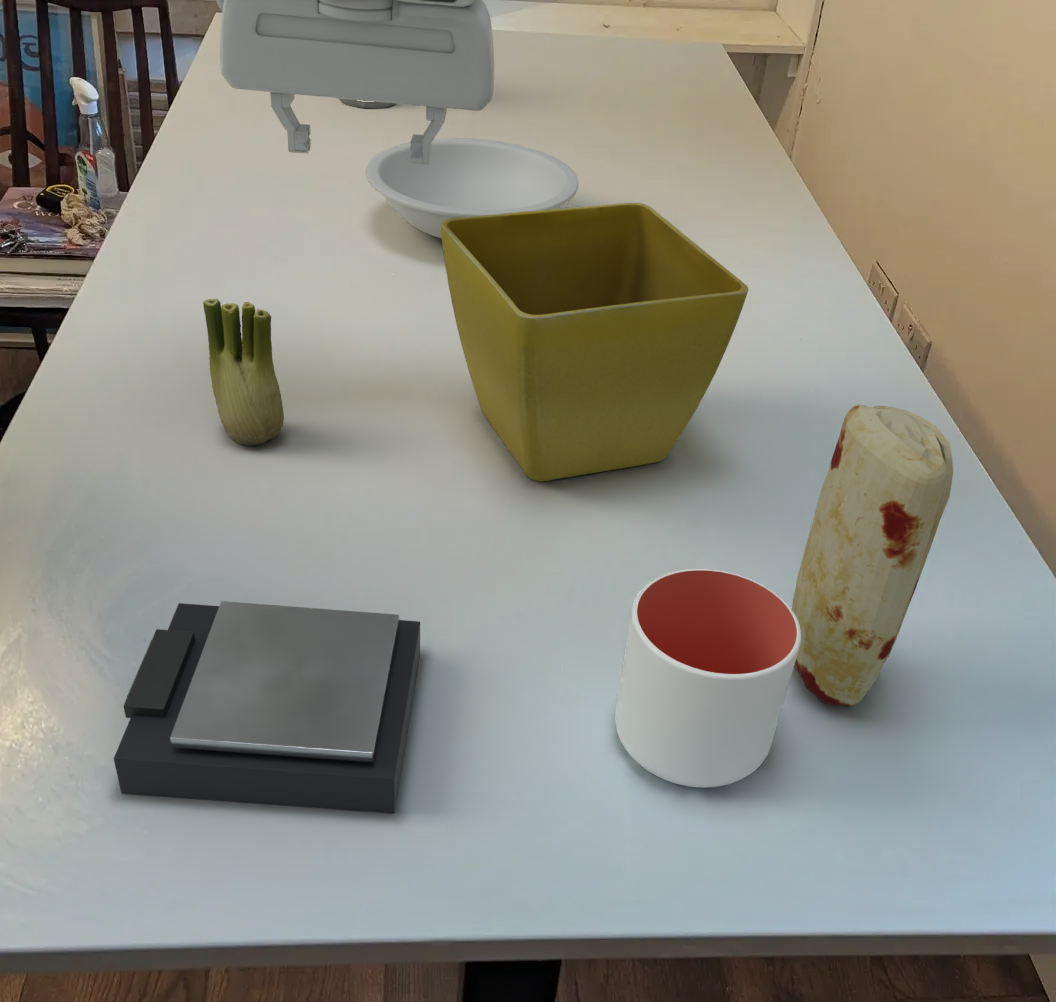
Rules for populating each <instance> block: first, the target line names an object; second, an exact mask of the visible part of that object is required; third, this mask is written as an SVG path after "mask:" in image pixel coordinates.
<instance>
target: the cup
mask: <svg viewBox="0 0 1056 1002" xmlns="http://www.w3.org/2000/svg"><path fill="white" fill-rule="evenodd" d="M630 612H631V613H630V618H629V626H628V629H627V630H628V631H627V635H626V636H627V637H626V644H625V648H624V649H625V650H624V655H623V662H622V666H621V667H622V668H621V674H620V678H619V679H620V681H619V686H618V692H617V698H616V705H615V710H614V711H615V712H614V722H615V727H616V728H615V729H616V733H617V735H618V738H619V740H620V742H621V745H622V746H623V748H624V749H625V751H626V752H627V753H628V754H629V756H630V757H631V758H632V759H633V760H634V761H635V762H636V763H637V764H638V765H639V766H640V767H642V768H643V769H645V770H646V771H648V772H649V773H651V774H652V775H654V776H656V777H658V778H660V779H662V780H664V781H667V782H670V783H673V784H676V785H680V786H686V787H692V788H716V787H722V786H728V785H731V784H734V783H737V782H739V781H741V780H743V779H745V778H747V777H748V776H750V775H751V774H752V773H754V772H755V771H756V770H757V769H758V768H759V767H760V766H761V765H762V764H763V762H764V761H765V759H766V758H767V756H768V754H769V753H770V750H771V748H772V744H773V741H774V737H775V733H776V731H777V728H778V727H777V726H778V723H779V720H780V716H781V713H782V709H783V706H784V702H785V700H786V695H787V692H788V689H789V684H790V681H791V678H792V675H793V671H794V667H795V661H796V658H797V654H798V651H799V647H800V644H801V629H800V625H799V621H798V619H797V617H796V615H795V613H794V612H793V610H792V607H791V606H790V605H789V604H788V603H787V602H786V600H785V599H783V598H782V597H781V596H780V595H779V594H778V593H776V592H775V591H774V590H772V589H771V588H770V587H767V586H766V585H764V584H762V583H760V582H758V581H757V580H754V579H752V578H750V577H747V576H745V575H741V574H738V573H735V572H731V571H726V570H722V569H721V570H720V569H712V568H689V569H688V568H687V569H680V570H674V571H671V572H667V573H665V574H662V575H660V576H658V577H656V578H654V579H652V580H651V581H649V582H648V583H647V584H646V585H644V586H643V587H642V588H641V589H640V591H639V592H638V593H637V595H636V596H635V598H634V600H633V603H632V606H631V611H630Z"/></svg>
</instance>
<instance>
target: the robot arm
mask: <svg viewBox="0 0 1056 1002" xmlns="http://www.w3.org/2000/svg"><path fill="white" fill-rule="evenodd" d="M215 2H216V5H217V6H218V8H219V9H220V11H221V20H220V21H221V22H220V37H219V65H220V73H221V76H222V77H223V78H224V80H225V81H226V83H227V84H228V85H229V86H230V87H231V88H232V89H235V90H245V91H253V92H254V91H255V92H266V93H269V94H270V107H271V109H272V110H273V112H274V114H275V116H276V117H277V118H278V121H280V123H281V125H282V126H283V128H284V130H285V131H286V132H287V133H286V135H287V150H288V152H289V153H293V154H306V155H308V154H309V151H311V147H312V139H311V138H310V136H311V125H310V124H304V123H300V121H299V119H298V118H297V115H296V113H295V112H294V110H293V108H292V106H291V104H292V103H293V101H294V100H295V95H299V96H309V97H319V98H320V97H321V98H331V99H333V98H334V99H340V98H341V99H352V100H363V101H374V102H385V103H396V105H406V106H407V105H408V106H419V107H425V119H426V121H429V122H430V123H429V124H428V125H427V127H426V129H425V131H424V132H423V134H416V133H415V134H414V133H413V134H412V136H411V139H410V142H411V152H412V153H411V156H410V162H411V163H414V164H425V165H429V164H430V160H431V142H432V141H433V139H436V136H437V135H438V133H439V132H440V130H441V128H442V127H443V125H444V124H445V120H446V117H447V111H448V110H447V109H452V110H462V111H463V110H464V111H475V112H480V111H483V110H484V109H485V107H487V106H488V104H489V103H490V102H491V101H492V99H493V96H494V89H495V88H494V87H495V50H494V49H495V48H494V47H495V46H494V37H493V27H492V20H491V15H490V12H489V9H488V6H487V5H486V3H485V1H484V0H215Z"/></svg>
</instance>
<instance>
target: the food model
mask: <svg viewBox="0 0 1056 1002" xmlns="http://www.w3.org/2000/svg"><path fill="white" fill-rule="evenodd" d="M951 449H952V448H951V443H950V441H948V439H947V438H946V437H945V435H944V434H943V432H941V431H940V428H938V426H936V424H934V423H932V422H931V421H929V420H928V419H925V418H924V417H921V416H920V415H917V414H915V413H912V412H911V411H908V410H905V409H901V408H898V407H897V408H896V407H893V406H888V405H875V406H867V405H863V404H859V403H857V404H855V405H853V406H852V407H851V408H850V409H849V410H848V411H847V413H846V414H845V417H844V419H843V422H842V425H841V429H840V432H839V435H838V438H837V442H836V445H835V448H834V451H833V454H832V457H831V460H830V463H829V466H828V469H827V473H826V475H825V478H824V481H823V484H822V487H821V490H820V493H819V497H818V500H817V503H816V508H815V511H814V514H813V518H812V522H811V526H810V530H809V533H808V537H807V540H806V544H805V548H804V550H803V555H802V558H801V563H800V567H799V570H798V573H797V578H796V583H795V586H794V592H793V597H792V604H791V605H792V606H791V609H792V610H793V612H794V613H795V615H796V617H797V619H798V621H799V625H800V629H801V644H800V647H799V651H798V654H797V658H796V661H795V665H794V667H795V669H796V671H797V672H798V675H799V676H800V679H801V680H802V681H803V683H804V685H805V687H806V689H808V690H809V691H810V692H811V693H812V694H813V695H814V696H815V697H817V698H818V700H820V701H822V702H824V703H825V704H827V705H829V706H844V707H851V706H856V705H857V704H859V703H861V701H863V700H864V698H865V696H866V695H867V694H868V692H870V690H871V688H872V687H873V686H874V684H875V682H876V681H877V679H878V677H879V675H880V673H881V672H882V670H883V668H884V666H885V663H886V662H887V660H888V658H889V657H890V654H891V652H892V650H893V648H894V646H895V643H896V642H897V638H898V636H899V634H900V630H901V628H902V625H903V623H904V620H905V617H906V614H907V612H908V609H909V607H910V604H911V602H912V599H913V596H914V594H915V591H916V590H917V586H918V583H919V580H920V578H921V575H922V572H923V570H924V566H925V564H926V561H927V559H928V555H929V553H930V550H931V547H932V545H933V542H934V539H935V536H936V534H937V531H938V528H939V525H940V522H941V519H942V517H943V514H944V512H945V509H946V507H947V505H948V502H949V499H950V497H951V491H952V483H953V476H954V461H953V455H952V450H951Z"/></svg>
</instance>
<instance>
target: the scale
mask: <svg viewBox="0 0 1056 1002" xmlns="http://www.w3.org/2000/svg"><path fill="white" fill-rule="evenodd" d="M219 606H220V605H207V604H196V603H180V602H178V604H177V606H176V609H175V611H174V614H173V616H172V618H171V621H170V623H169V626H168V628H167V629H160V628H156V629H155V632H154V634H153V636H152V639H151V640H150V641H149V644H148V646H147V649H146V651H145V653H144V656H143V658H142V661H141V663H140V664H139V667H138V669H137V672H136V674H135V677H134V679H133V681H132V684H131V685H130V688H129V690H128V693H127V695H126V699H125V701H124V704H123V705H122V706H123V710H124V711H123V712H124V717H125V718H126V719H129V721H128V723H127V726H126V728H125V730H124V733H123V735H122V737H121V740H120V742H119V745H118V747H117V748H116V749H117V750H116V752H115V754H114V757H113V762H114V766H115V771H116V776H117V780H118V785H119V789H120V794H123V795H136V796H148V797H149V796H152V797H163V798H164V797H165V798H176V799H177V798H178V799H191V800H204V801H205V800H206V801H218V802H233V803H243V804H244V803H245V804H259V805H260V804H261V805H272V806H287V807H300V808H312V809H313V808H315V809H327V810H339V811H340V810H341V811H353V812H368V813H379V814H380V813H382V814H395V813H396V806H397V799H398V793H399V787H400V781H401V776H402V769H403V763H404V757H405V750H406V745H407V737H408V731H409V726H410V718H411V713H412V707H413V700H414V694H415V688H416V683H417V675H418V670H419V663H420V657H421V621H419V620H407V619H404V620H403V619H399V628H398V633H397V638H396V644H395V649H394V654H393V660H392V665H391V670H390V676H389V681H388V686H387V692H386V697H385V703H384V708H383V713H382V719H381V724H380V729H379V735H378V740H377V745H376V751H375V756H374V761H373V762H360V761H347V760H333V759H320V758H306V757H293V756H279V755H266V754H252V753H239V752H226V751H212V750H199V749H185V748H172V747H171V742H170V736H171V734H172V731H173V728H174V726H175V723H176V720H177V718H178V715H179V712H180V710H181V707H182V704H183V702H184V699H185V696H186V694H187V691H188V688H189V686H190V683H191V680H192V678H193V675H194V672H195V670H196V667H197V664H198V662H199V659H200V656H201V654H202V651H203V649H204V646H205V643H206V641H207V638H208V635H209V633H210V630H211V627H212V625H213V622H214V619H215V617H216V614H217V611H218V609H219Z"/></svg>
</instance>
